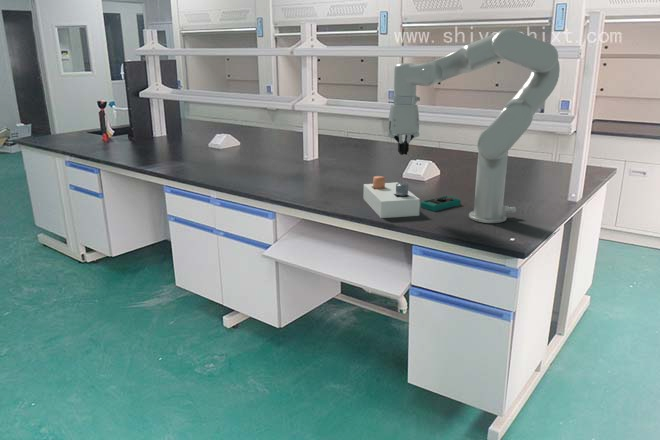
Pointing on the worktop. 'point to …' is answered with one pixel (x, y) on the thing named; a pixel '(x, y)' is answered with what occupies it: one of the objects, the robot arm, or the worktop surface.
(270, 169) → the worktop surface
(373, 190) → the panel
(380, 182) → the orange rounded cylinder
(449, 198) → the digital multimeter
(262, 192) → the worktop surface
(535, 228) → the worktop surface
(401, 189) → the charcoal plunger
